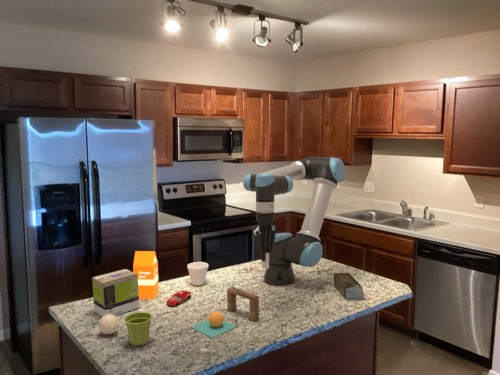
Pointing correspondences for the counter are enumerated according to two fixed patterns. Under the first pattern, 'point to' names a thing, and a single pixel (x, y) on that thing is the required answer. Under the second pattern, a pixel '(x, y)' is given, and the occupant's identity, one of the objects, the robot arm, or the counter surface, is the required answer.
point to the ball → (216, 319)
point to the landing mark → (213, 328)
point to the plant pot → (138, 327)
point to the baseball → (108, 324)
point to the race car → (179, 298)
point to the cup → (197, 272)
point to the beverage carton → (348, 286)
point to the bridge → (252, 297)
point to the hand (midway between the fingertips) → (265, 268)
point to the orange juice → (146, 273)
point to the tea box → (115, 292)
